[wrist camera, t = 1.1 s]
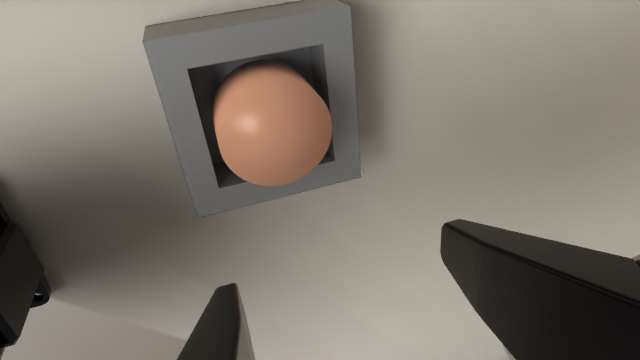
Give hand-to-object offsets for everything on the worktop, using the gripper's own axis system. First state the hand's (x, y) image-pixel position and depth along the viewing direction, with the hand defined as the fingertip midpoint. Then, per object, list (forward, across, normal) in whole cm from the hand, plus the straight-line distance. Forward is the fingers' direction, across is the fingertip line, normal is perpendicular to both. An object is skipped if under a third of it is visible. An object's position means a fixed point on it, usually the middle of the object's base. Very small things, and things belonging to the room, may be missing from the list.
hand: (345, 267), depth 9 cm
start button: (+9, 0, 0) cm, 9 cm away
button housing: (+11, 0, 0) cm, 11 cm away
